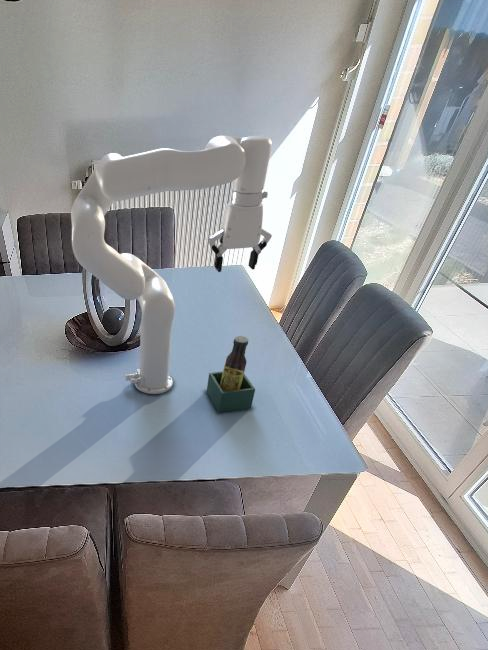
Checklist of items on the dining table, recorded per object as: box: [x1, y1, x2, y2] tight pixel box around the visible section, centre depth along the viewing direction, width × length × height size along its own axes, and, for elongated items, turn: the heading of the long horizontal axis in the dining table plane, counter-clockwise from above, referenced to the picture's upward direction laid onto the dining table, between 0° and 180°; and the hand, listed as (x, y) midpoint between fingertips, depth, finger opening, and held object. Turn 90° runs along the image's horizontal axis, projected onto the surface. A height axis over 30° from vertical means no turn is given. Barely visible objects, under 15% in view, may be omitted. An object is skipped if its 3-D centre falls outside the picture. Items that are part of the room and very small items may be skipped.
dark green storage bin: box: [206, 371, 256, 413], centre depth 143 cm, size 11×12×7 cm
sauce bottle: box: [220, 335, 249, 392], centre depth 137 cm, size 7×6×20 cm
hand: (234, 269), depth 128 cm, fingers open, 9 cm apart
